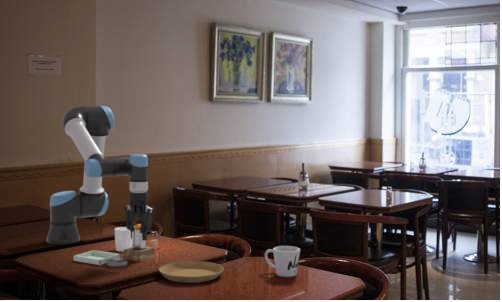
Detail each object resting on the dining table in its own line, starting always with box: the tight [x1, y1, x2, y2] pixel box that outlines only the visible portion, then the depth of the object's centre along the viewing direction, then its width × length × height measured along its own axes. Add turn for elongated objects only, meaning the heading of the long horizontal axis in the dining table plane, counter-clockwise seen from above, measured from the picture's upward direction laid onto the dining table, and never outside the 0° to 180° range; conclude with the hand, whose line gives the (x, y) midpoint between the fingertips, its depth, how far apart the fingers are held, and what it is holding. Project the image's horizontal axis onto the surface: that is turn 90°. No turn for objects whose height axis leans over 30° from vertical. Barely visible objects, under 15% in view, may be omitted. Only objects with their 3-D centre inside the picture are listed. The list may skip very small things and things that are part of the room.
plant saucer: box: [158, 260, 224, 284], centre depth 235 cm, size 24×24×3 cm
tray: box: [73, 249, 121, 266], centre depth 257 cm, size 14×12×2 cm
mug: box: [264, 245, 301, 278], centre depth 240 cm, size 10×15×10 cm
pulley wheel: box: [106, 257, 129, 268], centre depth 250 cm, size 8×8×3 cm
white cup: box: [114, 226, 132, 252], centre depth 276 cm, size 8×8×10 cm
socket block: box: [122, 246, 155, 262], centre depth 261 cm, size 9×9×4 cm
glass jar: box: [133, 223, 143, 250], centre depth 261 cm, size 5×5×14 cm
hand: (138, 247), depth 261 cm, fingers closed on glass jar, 3 cm apart
